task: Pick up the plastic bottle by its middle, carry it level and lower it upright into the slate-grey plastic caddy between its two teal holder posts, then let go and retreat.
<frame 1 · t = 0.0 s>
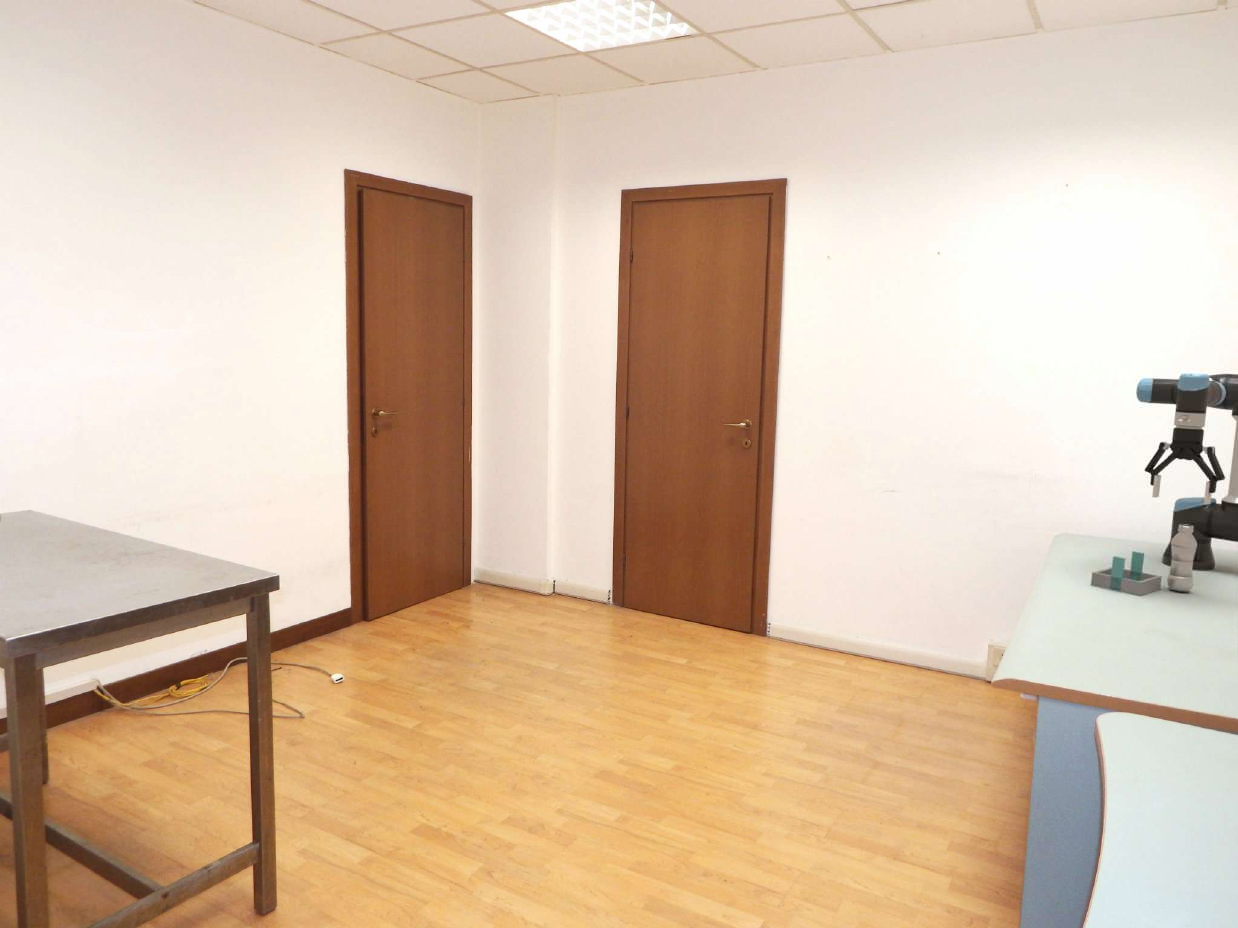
hand: (1180, 500, 263), 28 cm above the table, fingers open, 13 cm apart
caddy: (1125, 587, 274), on the table
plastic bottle: (1178, 591, 271), on the table
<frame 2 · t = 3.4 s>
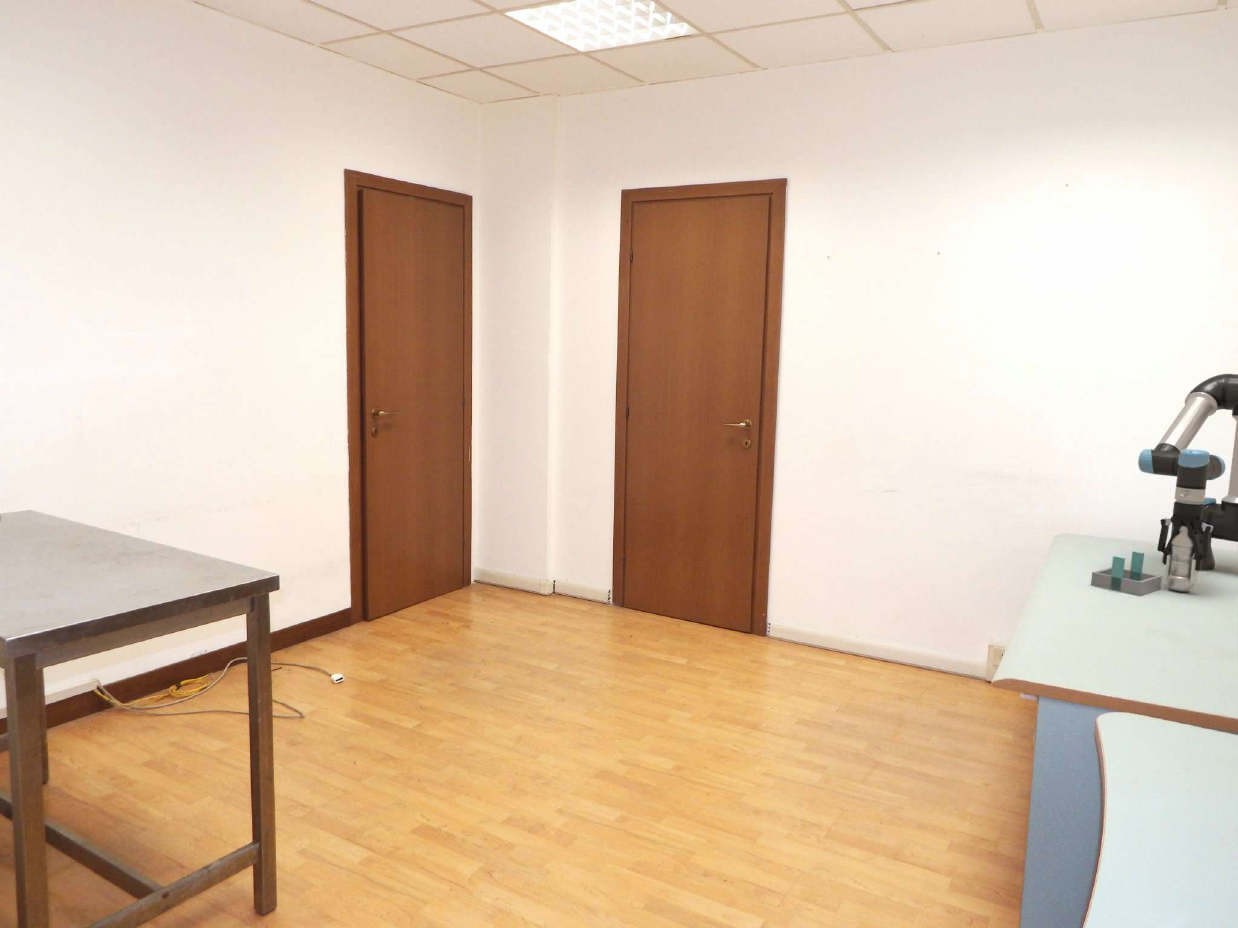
hand: (1180, 578, 271), 4 cm above the table, fingers closed on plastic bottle, 6 cm apart
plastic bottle: (1178, 591, 271), on the table, touching gripper
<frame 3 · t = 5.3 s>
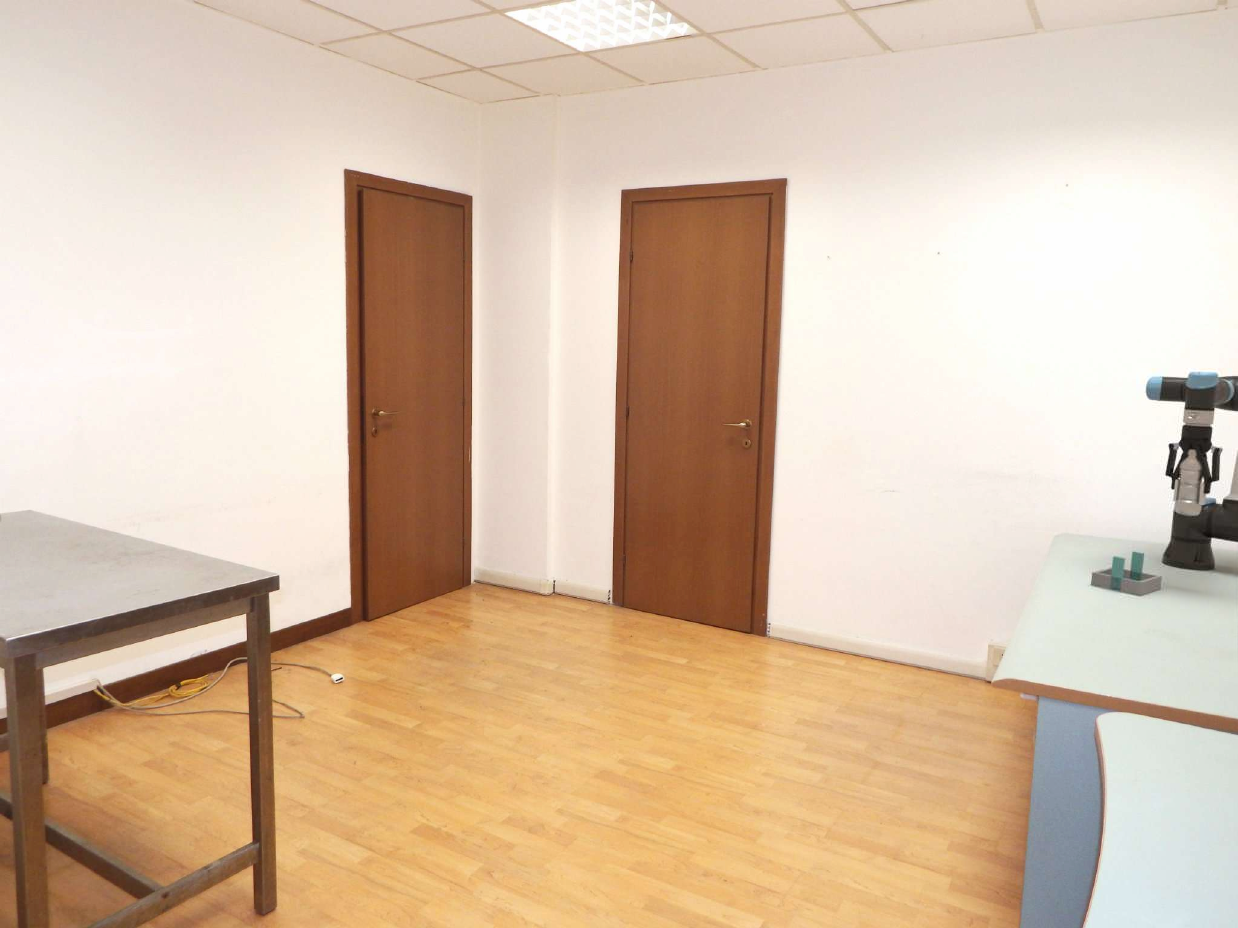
hand: (1188, 502, 268), 27 cm above the table, fingers closed on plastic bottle, 6 cm apart
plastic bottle: (1187, 516, 268), point 23 cm above the table, touching gripper
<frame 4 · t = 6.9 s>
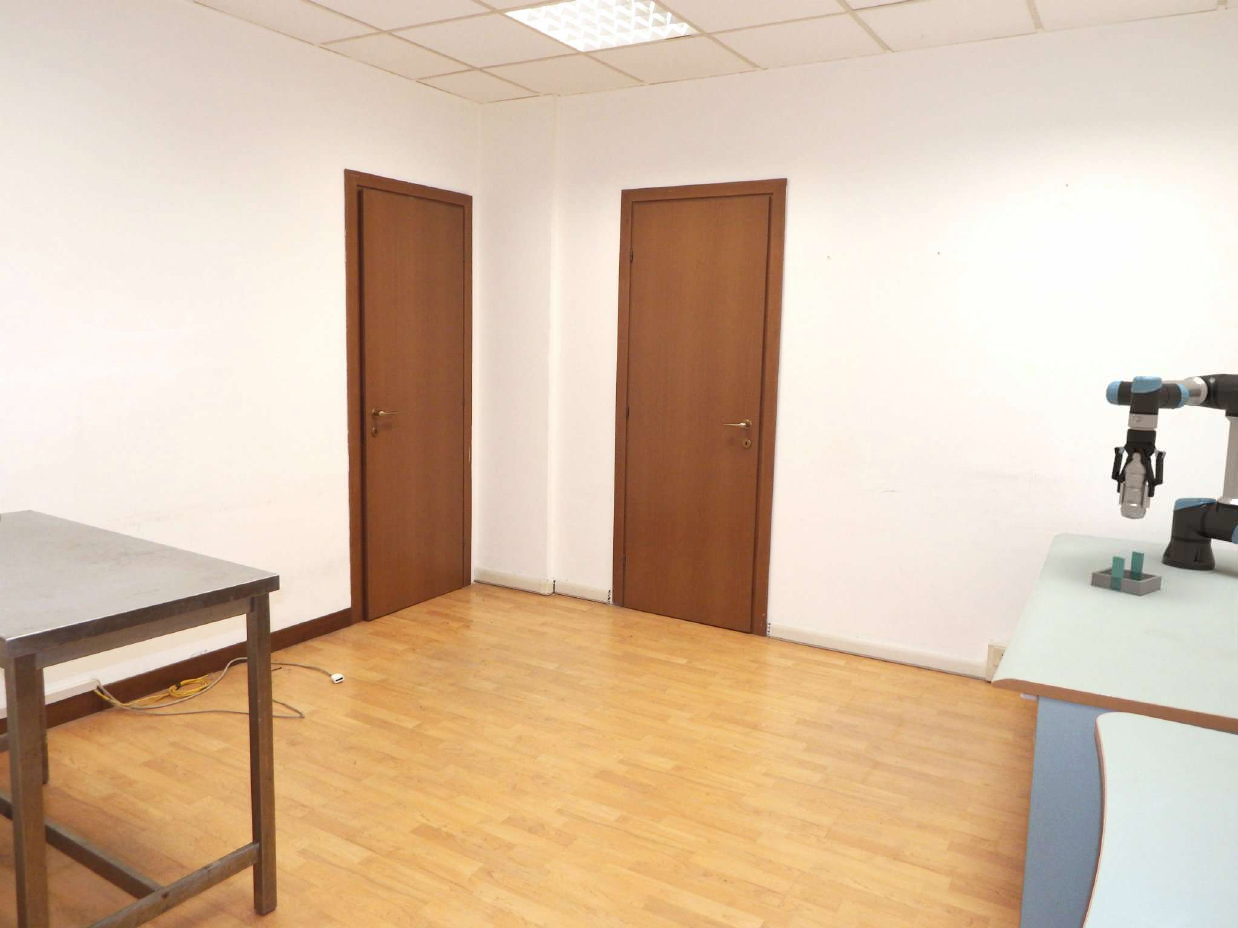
hand: (1133, 505, 271), 25 cm above the table, fingers closed on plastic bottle, 6 cm apart
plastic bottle: (1132, 519, 271), point 21 cm above the table, touching gripper
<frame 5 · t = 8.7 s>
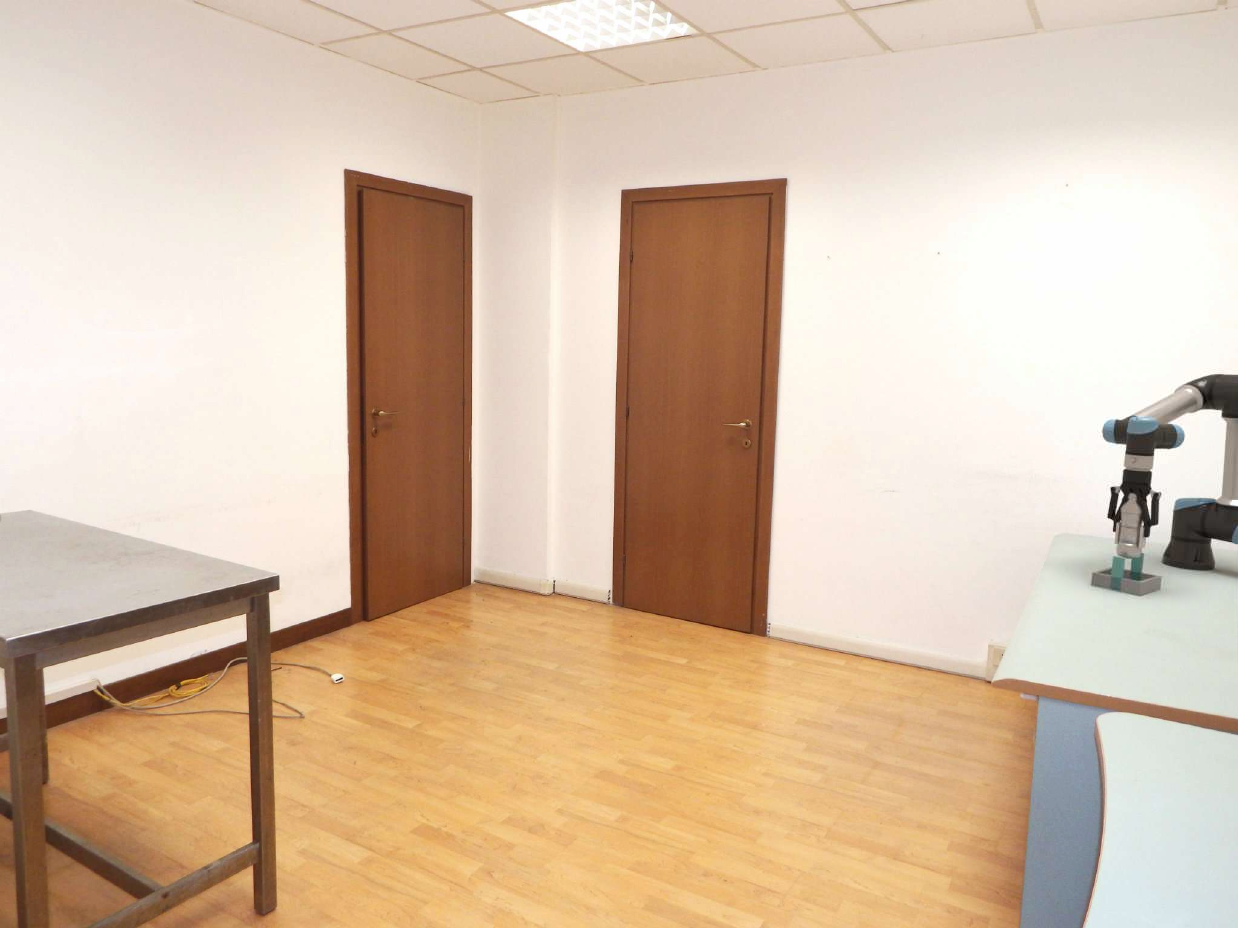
hand: (1129, 545, 272), 13 cm above the table, fingers closed on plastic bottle, 6 cm apart
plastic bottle: (1127, 558, 273), point 9 cm above the table, touching gripper
when the fingers open (6 cm above the table, at t = 10.4 s): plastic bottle drops 1 cm, resting on caddy.
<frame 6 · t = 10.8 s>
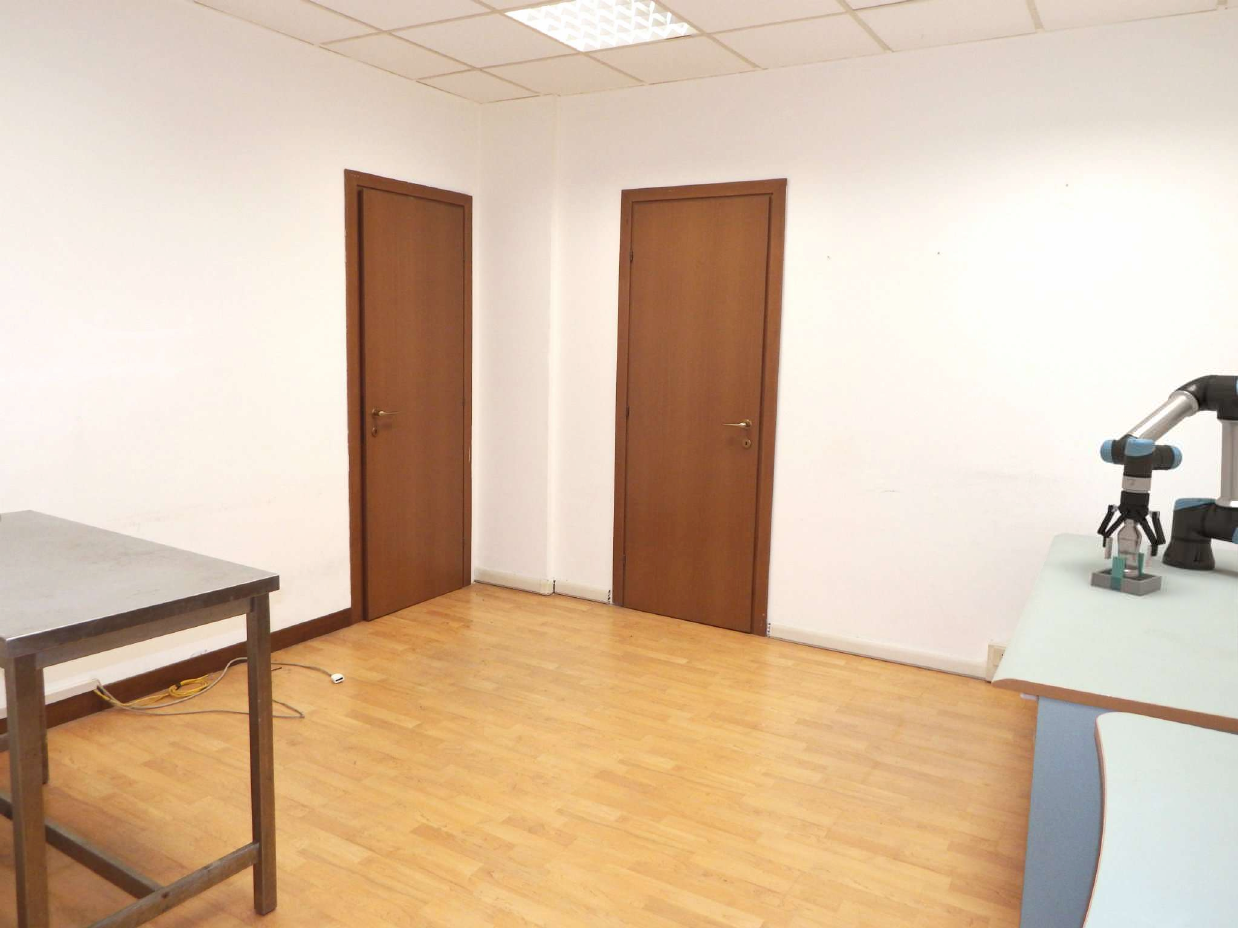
hand: (1128, 562, 273), 8 cm above the table, fingers open, 11 cm apart
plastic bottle: (1125, 584, 274), point 1 cm above the table, touching caddy
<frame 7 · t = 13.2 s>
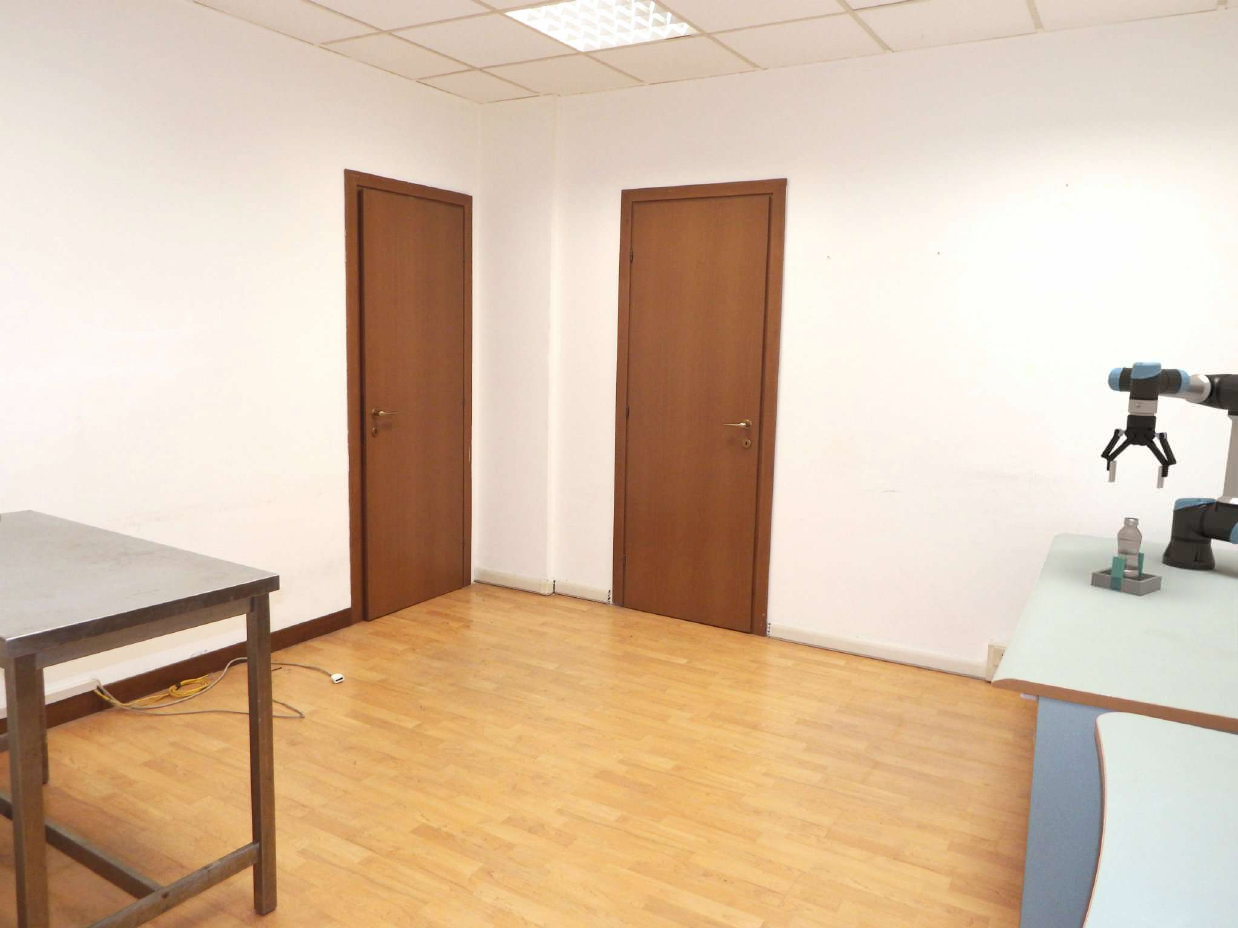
hand: (1135, 485, 272), 31 cm above the table, fingers open, 13 cm apart
nothing on the table moved.
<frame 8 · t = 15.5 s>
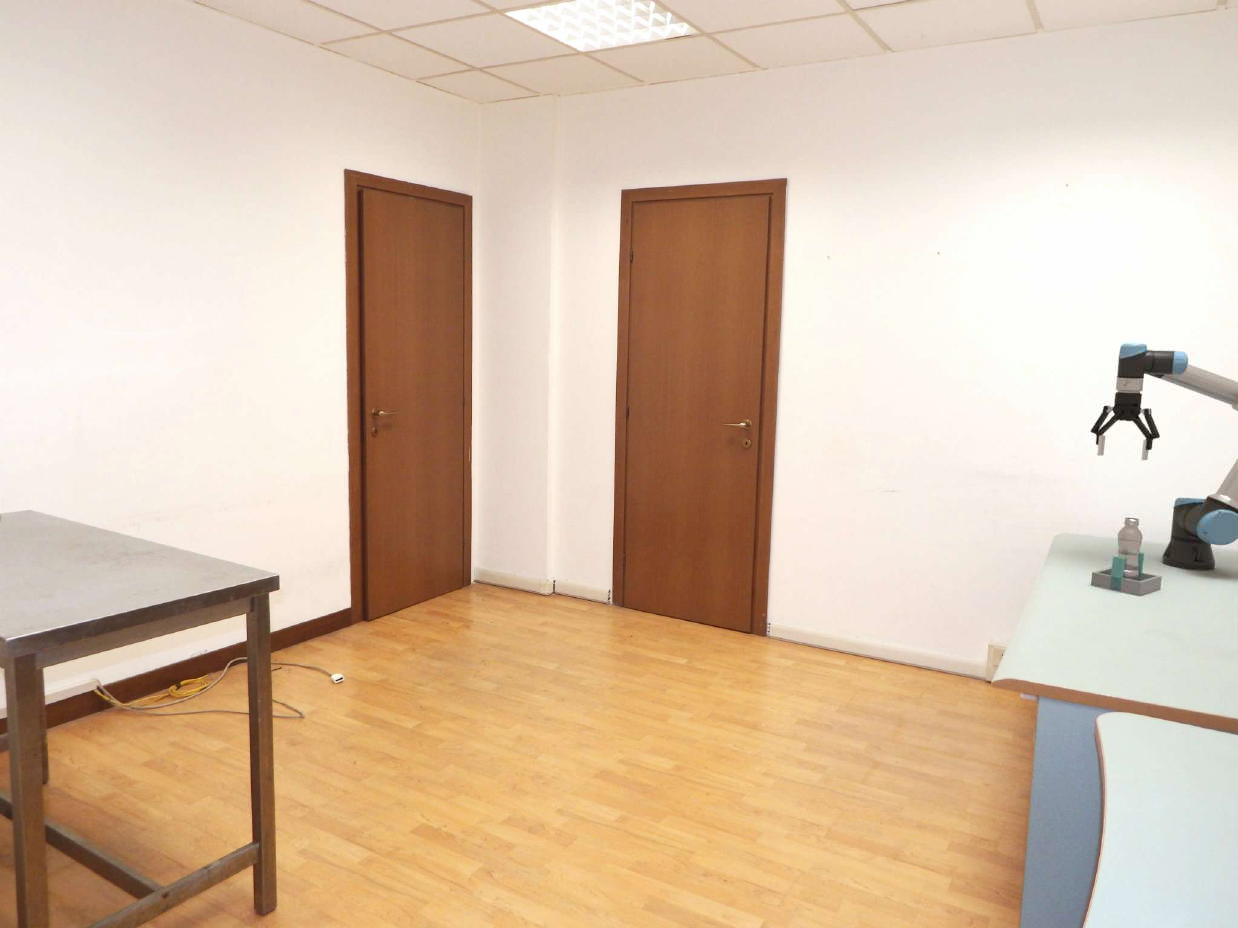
hand: (1122, 457, 293), 37 cm above the table, fingers open, 13 cm apart
nothing on the table moved.
at the end: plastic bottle inside the target area on the caddy (0.1 cm from its centre), point 0.8 cm above the caddy's base; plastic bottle tilted 0°; the gripper is holding nothing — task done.
